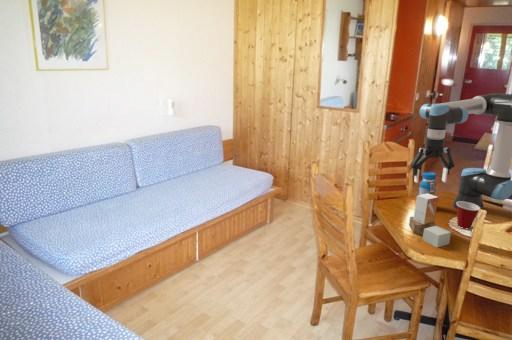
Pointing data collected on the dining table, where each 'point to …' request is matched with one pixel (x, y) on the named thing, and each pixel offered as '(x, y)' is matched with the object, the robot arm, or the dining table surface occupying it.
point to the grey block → (436, 236)
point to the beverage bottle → (428, 183)
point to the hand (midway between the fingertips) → (429, 181)
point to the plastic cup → (466, 213)
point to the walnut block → (419, 226)
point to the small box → (425, 208)
